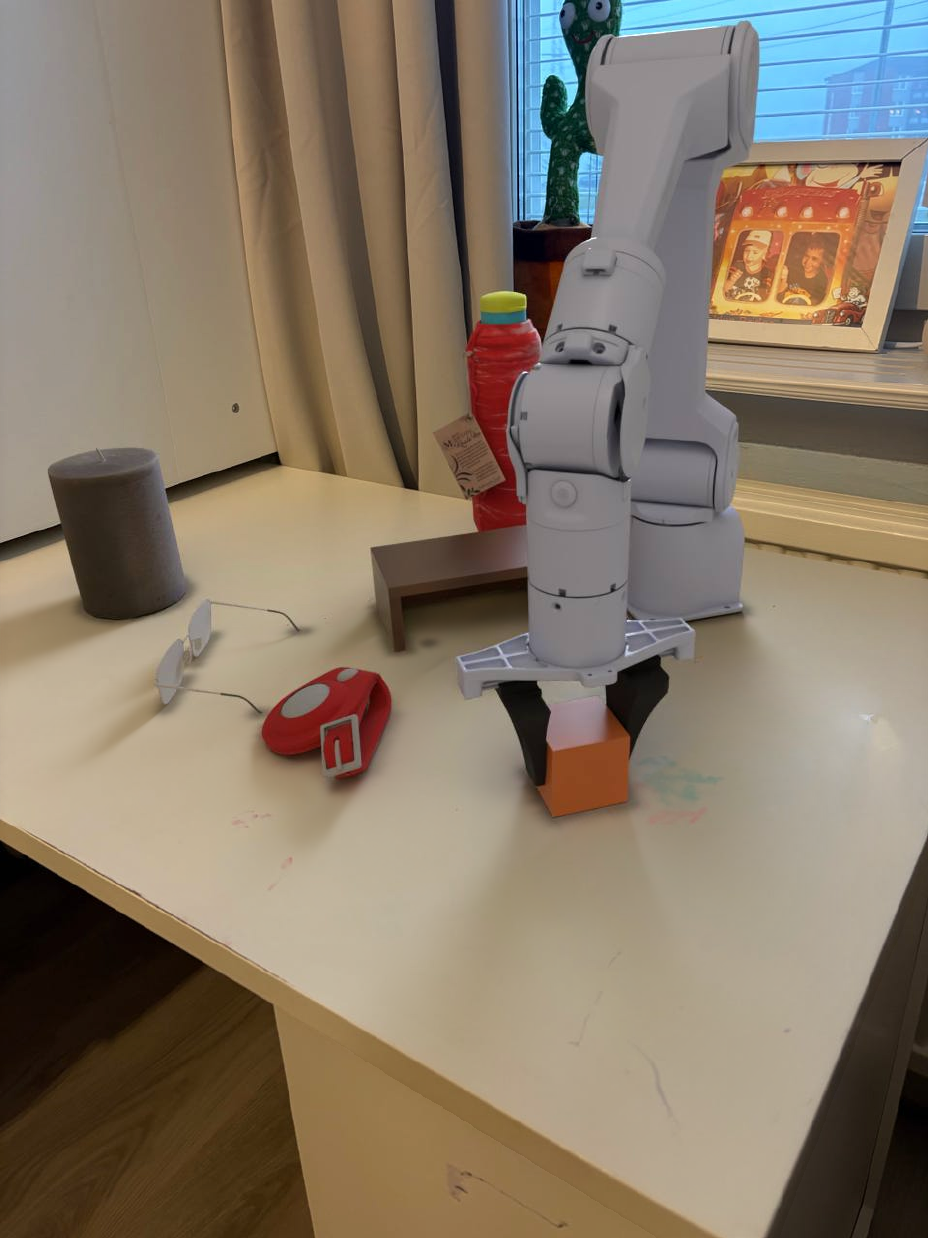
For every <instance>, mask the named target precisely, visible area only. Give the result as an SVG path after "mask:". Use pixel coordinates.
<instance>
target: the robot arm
mask: <svg viewBox="0 0 928 1238" xmlns="http://www.w3.org/2000/svg"><path fill="white" fill-rule="evenodd" d="M760 53H761V52H760V37H759V33H758V31H757V30H756V29H755V28H754V26H753V25H752V23H751V21H750V20H739V21H738V22H737V24H728V25H717V26H707V27H700V28H688V29H680V30H668V31H659V32H649V33H640V34H630V35H629V34H628V35H621V36H615V35H614V34H612V33H611V34H604V35H602V36H601V37H600V38H599V39H598V40H597V42H596V44H595V46H594V47H593V49H592V50H591V53H590V55H589V58H588V62H587V67H586V75H585V89H584V97H585V98H584V101H585V104H584V105H585V115H586V123H587V126H588V131H589V133H590V135H591V137H592V138H593V141H594V146H595V150H596V153H597V154H598V155H599V156H602V157H603V158H602V162H601V163H602V165H601V170H600V175H599V182H598V189H597V195H596V203H595V208H594V209H595V210H594V216H593V222H592V228H591V235H590V239H587V240H585V241H582V242H581V243H579V244H578V245H576V246H574V247H573V249H572V250H570V252H569V253H568V255H567V256H566V258H565V260H564V263H563V267H562V271H561V274H560V278H559V283H558V286H557V290H556V293H555V296H554V297H555V298H554V301H553V305H552V309H551V313H550V316H549V320H548V323H547V326H546V327H547V328H546V331H545V335H544V339H543V342H542V349H541V353H540V357H539V361H538V363H537V364H536V365H535V366H534V370H531V371H530V372H523V373H521V374H520V375H519V377H518V378H517V380H516V382H515V384H514V387H513V390H512V393H511V398H510V403H509V410H508V426H507V430H506V434H507V445H508V451H509V456H510V459H511V462H512V464H513V466H514V469H515V473H516V483H517V496H519V502H522V503H523V504H526V521H527V570H528V587H527V602H528V603H527V605H528V607H527V609H528V612H527V615H528V632H525V633H522V634H519V635H517V636H514V637H511V638H510V639H507V640H504V641H502V642H499V643H497V644H494V645H491V646H488V647H486V648H483V649H481V650H477V651H473V652H470V653H466V654H461V655H456V656H455V670H456V684H457V687H458V688H459V691H460V693H461V694H462V697H463V698H464V700H466V701H468V700H475V699H480V698H481V697H483V692H485V691H489V690H490V691H491V690H494V691H495V692H496V694H497V696H498V698H499V699H500V701H501V703H502V705H503V707H504V709H505V710H506V712H507V715H508V717H509V719H510V721H511V724H512V726H513V728H514V731H515V733H516V736H517V740H518V742H519V745H520V749H521V752H522V757H523V761H524V767H525V770H526V773H527V775H528V776H529V778H530V781H531V782H532V783H533V786H534V787H535V788H537V787H538V786H543V785H545V781H546V769H547V765H546V736H547V729H548V723H549V718H550V715H551V711H550V709H549V707H548V706H547V705H548V704H547V703H546V701H545V700H544V698H543V690H542V688H540V686H539V685H538V681H539V682H540V681H542V682H544V681H545V682H549V681H550V682H557V681H558V682H579V683H580V684H581V686H583V687H584V688H588V689H592V688H593V689H594V688H598V687H603V686H604V691H605V701H606V702H605V704H606V705H607V706H608V708H609V709H610V710H611V712H612V713H613V714H614V716H615V717H616V718H617V720H618V721H619V722H620V724H621V725H622V726H623V728H624V729H625V730H626V732H627V733H628V734H629V736H630V753H629V762H630V761H631V758H632V755H633V752H634V749H635V747H636V744H637V742H638V739H639V737H640V734H641V732H642V730H643V728H644V726H645V724H646V723H647V721H648V719H649V717H650V716H651V714H652V712H653V711H654V710H655V708H656V707H657V706H658V705H659V704H660V702H661V701H662V700H663V699H664V698H665V696H666V695H668V694H669V689H670V675H669V674H668V673H667V672H666V670H665V669H664V668H663V667H662V659H664V658H665V659H666V658H672V657H673V658H674V659H675V660H676V661H687V660H692V659H694V657H695V646H696V645H695V644H696V643H695V642H696V630H694V629H693V628H692V627H691V626H690V625H689V624H688V623H687V622H688V621H694V620H699V619H706V618H711V617H716V616H723V615H728V614H734V613H739V612H742V611H743V610H744V605H743V604H742V603H741V602H740V595H741V586H742V574H743V565H744V556H745V545H746V544H745V543H746V540H745V530H744V529H745V528H744V524H743V521H742V518H741V516H740V514H739V512H738V511H737V509H736V508H735V507H734V506H733V505H732V503H733V500H734V496H735V492H736V487H737V481H738V474H739V465H740V443H739V428H740V427H739V426H740V425H739V424H740V423H739V422H738V421H737V415H736V414H735V413H733V412H732V411H731V410H730V409H728V408H727V407H725V406H724V405H722V403H720V402H718V401H717V400H715V399H714V398H713V397H712V396H711V395H709V394H708V393H707V392H706V383H707V382H706V381H707V380H706V379H707V365H708V364H707V363H708V349H709V348H708V346H709V329H710V311H711V310H710V309H711V292H712V276H713V275H712V273H713V255H714V254H713V252H714V236H715V222H716V221H715V220H716V218H715V217H716V202H717V200H716V199H717V195H718V191H719V187H720V184H721V181H722V177H723V174H724V172H725V170H727V169H729V168H732V167H734V166H736V165H739V164H741V163H743V162H746V161H747V160H748V159H749V157H750V149H751V148H752V147H753V144H754V138H755V128H756V127H755V126H756V113H757V101H758V99H757V98H758V89H759V79H760V55H761V54H760ZM627 613H628V614H630V615H631V616H632V617H633V618H634V619H633V620H632V619H627V617H628V616H627V615H628V614H627Z"/></svg>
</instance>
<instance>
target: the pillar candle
mask: <svg viewBox="0 0 928 1238" xmlns="http://www.w3.org/2000/svg"><path fill="white" fill-rule="evenodd" d="M47 475H48V480H49V484H50V488H51V491H52V495H53V499H54V503H55V507H56V510H57V514H58V518H59V523H60V525H61V529H62V532H63V536H64V540H65V545H66V549H67V551H68V555H69V556H68V557H69V559H70V563H71V566H72V570H73V574H74V578H75V582H76V585H77V587H78V592H79V595H80V598H81V602H82V605H83V608H84V610H85V612H86V613H87V614H89V615H91V616H94V617H97V618H103V619H110V620H111V619H114V620H119V619H122V620H123V619H124V620H126V619H127V620H128V619H133V618H136V617H141V616H145V615H149V614H152V613H155V612H158V611H161V610H163V609H165V608H168V607H170V606H173V605H174V604H175V603H177V602H178V601H179V600H180V599H182V597H183V596H184V595H185V594H186V591H187V584H186V578H185V574H184V570H183V564H182V560H181V556H180V552H179V547H178V543H177V536H176V533H175V528H174V523H173V519H172V514H171V509H170V505H169V500H168V496H167V492H166V486H165V483H164V479H163V473H162V469H161V463H160V459H159V452H158V451H156V450H154V449H148V448H144V447H133V446H132V447H112V448H102V449H99V447H96V448H95V449H91V450H88V451H84V452H82V453H77V454H74V455H71V456H67V457H65V458H62V459H59V460H58V461H56V462H54V463H52V464H50V465H49V466H48V468H47Z"/></svg>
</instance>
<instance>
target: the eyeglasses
mask: <svg viewBox="0 0 928 1238" xmlns="http://www.w3.org/2000/svg"><path fill="white" fill-rule="evenodd" d="M211 605H221V606H229V607H236V608H243V609H250V610H258V611H265V612H270V613H275V614H280V615H283V616H284V617H285V618H286V619H287V620H288V621H289V622H290V624H291V625H292V627H293V628H294V629H295V631H297V633H298V632H301V629H300V628H298V626H297V625H296V624H295V622H294V621H293V620H292V619H291V617H290V616H289V615H287V614H286V613H284V612H282V611H279V610H274V609H265V608H259V607H253V606H245V605H240V604H234V603H229V602H221V601H213V600H210V599H209V598H205V599H204V600H203V601H202V602H201V603H200V604H199V605H198V607H197V608H196V610H195V611H194V612H193V614H192V615H191V618H190V620H189V624H188V628H187V629H188V630H187V635H186V636H185V637H184V638H183V639H182V638H177V639H176V640H174V641H173V642H172V643H171V644H170V646H169V647H168V649H167V650H166V651H165V653H164V655H163V657H162V658H161V660H160V662H159V664H158V666H157V669H156V673H155V675H156V677H155V678H154V680H153V686H154V687H156V688H157V689H158V693H159V696H160V699H161V703H162V704H163V705H168V704H169V703H170V702H171V700H172V699H173V697H174V696H175V694H176V692H177V691H178V690H180V691H186V692H187V691H188V692H195V693H203V694H204V693H205V694H211V695H220V696H223V697H224V696H225V697H233V698H239V699H242V700H243V701H245V702H246V703H247V704H248V705H250V706H251V707H252V709H254V711H256V712H257V713H258V714H259V715H261V714H263V711H261V710H260V709H259V708H258V707H256V706H255V704H254V703H252V702H251V701H250V700H249V699H247V698H246V697H244V696H242V695H239V694H232V693H225V692H217V691H210V690H204V689H197V688H192V687H191V688H190V687H184V686H180V684H181V683H182V681H183V677H184V671H185V670H184V669H185V659H187V660H186V663H187V665H188V666H189V665H191V664H192V659H193V656H194V657H195V658H197V657H198V656H199V655H201V653H202V652H203V651H204V649H205V648H206V645H207V644H208V642H209V641H210V637H211V633H212V608H211ZM187 639H188V641H189V646H190V648H187V650H185V647H184V644H185V642H186V640H187Z"/></svg>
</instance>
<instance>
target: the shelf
mask: <svg viewBox="0 0 928 1238" xmlns="http://www.w3.org/2000/svg"><path fill="white" fill-rule="evenodd" d="M369 551H370V558H371V569H372V576H373V577H372V578H373V585H374V586H373V587H374V595H375V604H376V609H377V612H378V615H379V617H380V619H381V622H382V624H383V627H384V629H385V633H386V634H387V637H388V640H389V642H390V644H391V647H392V650H393V652H394V653H398V652H404V651H406V650H407V646H406V638H405V626H404V625H405V624H404V616H403V615H404V614H403V607H408V606H414V605H420V604H421V605H422V604H426V603H434V602H439V601H445V600H446V601H447V600H452V599H459V598H466V597H471V596H477V595H484V594H489V593H490V594H491V593H496V592H503V591H510V590H514V589H515V590H516V589H521V588H526V587H527V588H528V570H527V525H522V526H515V527H508V528H501V529H494V530H487V531H480V532H478V531H473V532H467V533H460V534H454V535H447V536H440V537H439V536H438V537H434V538H433V537H432V538H426V539H419V540H411V541H405V542H397V543H391V544H385V545H384V544H383V545H377V546H371V547H370V550H369Z"/></svg>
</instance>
